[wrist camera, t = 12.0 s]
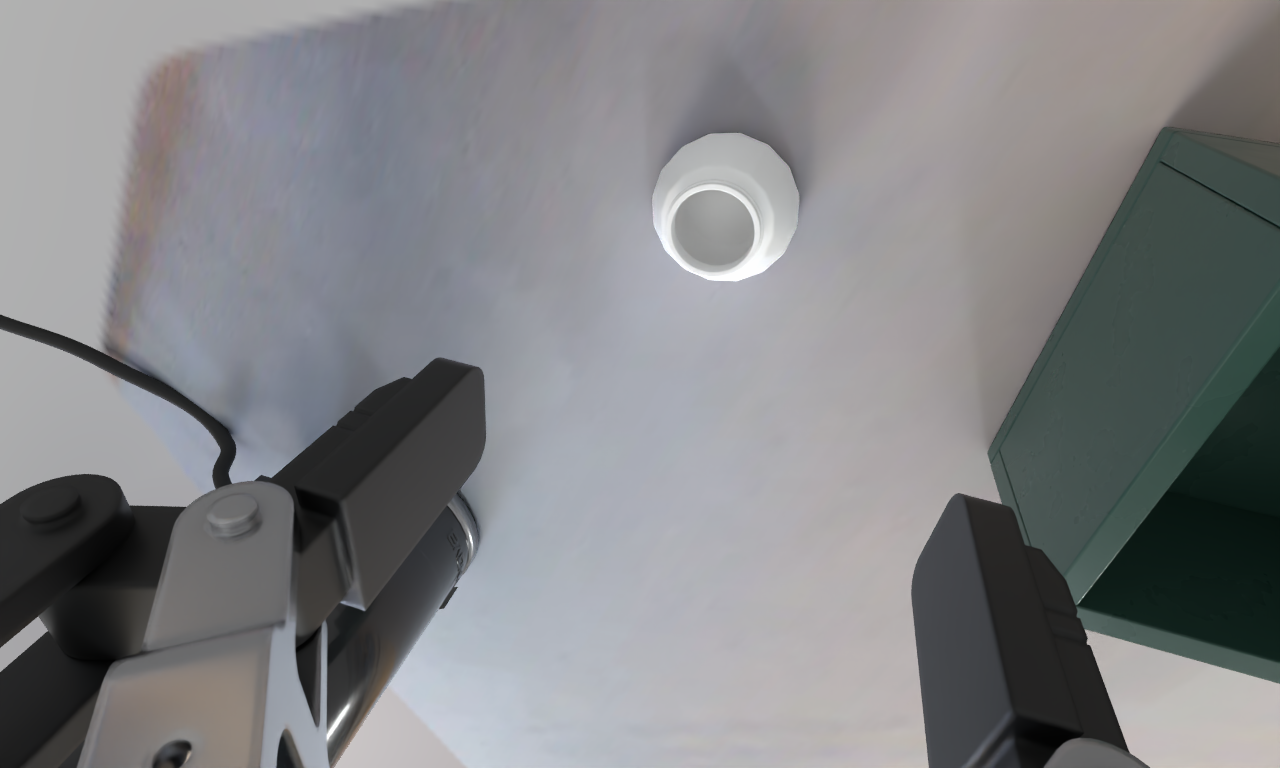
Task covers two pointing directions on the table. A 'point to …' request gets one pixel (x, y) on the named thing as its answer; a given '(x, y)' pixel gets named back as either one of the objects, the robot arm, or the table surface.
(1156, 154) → the waste bin
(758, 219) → the white jar
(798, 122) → the table surface
